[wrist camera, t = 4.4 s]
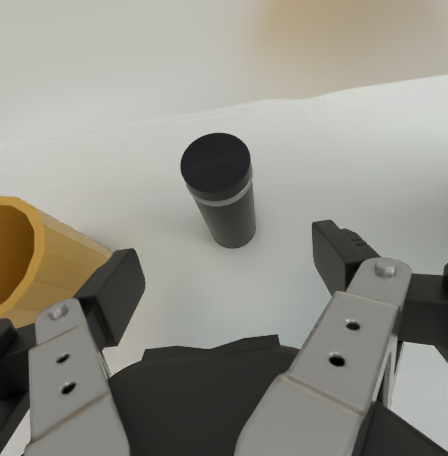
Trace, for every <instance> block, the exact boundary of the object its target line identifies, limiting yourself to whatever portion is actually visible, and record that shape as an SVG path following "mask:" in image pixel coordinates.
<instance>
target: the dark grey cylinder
mask: <svg viewBox="0 0 448 456" xmlns="http://www.w3.org/2000/svg"><path fill="white" fill-rule="evenodd" d="M181 173H182V176H183V178H184V180H185V183H186V186H187V188H188V190H189V192H190V194H191V195H192V196H193V198H194V200H195V202H196V204H197V206H198V208H199V210H200V212H201V214H202V216H203V218H204V219H205V221H206V223H207V225H208V227H209V229H210V231H211V233H212V235H213V237H214V239H215V240H216V241H217V242H218V243H219V244H220V245H222V246H224V247H227V248H238V247H241V246H244V245H245V244H247V243H248V242H249V241H250V240H251V239H252V237H253V236H254V233H255V229H256V223H255V210H254V197H253V184H252V177H253V173H252V165H251V158H250V153H249V150H248V148H247V146H246V145H245V144H244V143H243V142H242V141H241V140H240V139H239V138H237V137H235V136H233V135H230V134H226V133H212V134H208V135H205V136H202V137H200V138H198V139H197V140H195V141H194V142H192V143H191V144H190V145H189V146H188V148H187V149H186V150H185V152H184V154H183V156H182V159H181Z"/></svg>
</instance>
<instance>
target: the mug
mask: <svg viewBox="0 0 448 456" xmlns="http://www.w3.org/2000/svg"><path fill="white" fill-rule="evenodd" d="M112 254H113V253H112V252H111V251H110V250H109V249H107V248H106V247H104V246H102V245H101V244H99V243H97V242H95V241H94V240H92V239H90V238H88V237H87V236H85V235H83V234H81V233H80V232H78V231H76V230H74V229H72V228H71V227H69V226H67V225H65V224H64V223H62V222H60V221H58V220H57V219H55V218H53V217H51V216H50V215H48V214H46V213H44V212H43V211H41V210H39V209H37V208H36V207H34V206H32V205H30V204H29V203H27V202H25V201H23V200H22V199H20V198H17V197H3V196H0V319H2V318H8V319H10V320H11V322H12V324H13V325H14V327H15V329H17V328H20V327H23V326H26V325H29V324H32V323H35V318H36V316H37V315H38V314H39V313H40V312H41V311H42V310H43V309H45V308H46V307H48V306H49V305H51V304H53V303H55V302H57V301H60V300H63V299H68V298H72V297H73V296H74V294H75V293H76V292H77V291H78V290H79V289H80V288H81V286H82V285H83V284H84V283H86V281H87V279H88V278H89V277H91V275H92V274H93V272H94V271H95V270H96V269H97V268H99V267H100V266H102V265H103V264H104V263H106V262H107V260H108V259H109V258H110V257H111V256H112Z"/></svg>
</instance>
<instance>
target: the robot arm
mask: <svg viewBox="0 0 448 456" xmlns="http://www.w3.org/2000/svg"><path fill="white" fill-rule="evenodd" d="M312 241H313V257H314V263H315V266H316V268H317V270H318V272H319V274H320V276H321V278H322V279H323V281H324V283H325V285H326V287H327V288H328V290H329V292H330V294H331V296H332V298H331V300H330V301H329V303H328V305H327V306H326V308H325V310H324V311H323V313H322V315H321V316H320V318H319V320H318V321H317V323H316V325H315V326H314V328H313V330H312V331H311V333H310V335H309V336H308V338H307V339H306V341H305V343H304V344H303V346H302V348H301V349H297V348H294V347H289V346H283V345H280V343H279V338H278V334H277V335H268V336H260V337H251V338H243V339H240V340H237V341H234V342H231V343H228V344H225V345H222V346H218V347H215V348H212V349H201V348H192V347H183V346H171V347H162V348H153V349H145V352H144V355H143V357H142V360H141V361H139V362H137V363H134V364H132V365H130V366H128V367H126V368H124V369H122V370H121V371H119V372H117V373H116V374H114V375H113V376H112V375H111V373H110V370H109V368H108V365H107V363H106V360H105V358H104V355H103V353H102V350H103V348H104V347H113V346H118V344H119V342H120V340H121V338H122V336H123V334H124V332H125V330H126V328H127V326H128V324H129V321H130V319H131V317H132V315H133V313H134V311H135V309H136V307H137V305H138V303H139V301H140V299H141V297H142V295H143V293H144V290H145V278H144V274H143V271H142V268H141V265H140V262H139V259H138V256H137V253H136V251H135V250H134V249H133V248H130V249H123V250H117V251H115V252H114V253H113V254H112V256H111V257H110V258H109V259H108V260H107V262H106V263H104V264H103V265H102V266H100V267H99V268H97V269H96V270H95V271H94V272H93V274H92V275H91V277H89V278H88V279H87V281H86V283H84V284H83V285H82V286H81V288H80V289H79V290H78V291H77V292H76V293H75V294H74V296H73V297H72V298H68V299H63V300H60V301H57V302H55V303H53V304H51V305H49V306H48V307H46V308H45V309H43V310H42V311H41V312H40V313H39V314H38V315H37V316H36V318H35V323H32V324H29V325H26V326H23V327H20V328H17V329H15V327H14V325H13V324H12V322H11V320H10V319H8V318H2V319H0V454H1V452H2V451H3V449H4V447H5V446H6V444H7V443H8V441H9V439H10V438H11V436H12V435H13V433H14V431H15V430H16V428H17V427H18V425H19V424H20V422H21V420H22V419H23V417H24V416H25V414H26V412H27V411H28V409H29V408H30V423H31V440H30V442H29V443H28V444H27V445H26V447H25V450H24V453H23V454H22V455H21V456H448V452H447V451H446V450H445V449H443V448H442V447H440V446H439V445H438V444H436V443H435V442H434V441H432V440H431V439H429V438H428V437H427V436H425V435H424V434H423V433H421V432H420V431H418V430H417V429H416V428H414V427H413V426H412V425H410V424H409V423H407V422H406V421H405V420H403V419H402V418H401V417H399V416H398V415H396V414H395V413H394V412H392V411H391V410H390V407H391V401H392V394H393V389H394V384H395V380H396V376H397V372H398V368H399V363H400V359H401V355H402V351H403V347H404V342H412V343H419V344H427V345H434V346H435V347H436V349H437V350H438V351H439V352H440V354H441V355H442V356H443V358H444V359H445V360H446V361H447V363H448V263H447V264H446V265H445V266H444V272H443V275H426V274H414V273H412V270H411V268H410V267H409V266H408V265H407V264H405V263H403V262H401V261H399V260H395V259H391V258H382V257H381V256H380V255H379V254H377V253H376V252H375V251H374V250H373V249H372V248H371V247H370V246H369V245H367V243H366V242H365V241H364V240H362V238H361V237H360V236H359V235H358V234H356V233H355V232H352V231H350V230H348V229H340V228H339V227H338V226H337V225H336V224H335V223H334V222H333V221H332V220H324V221H317V222H313V223H312Z"/></svg>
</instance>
